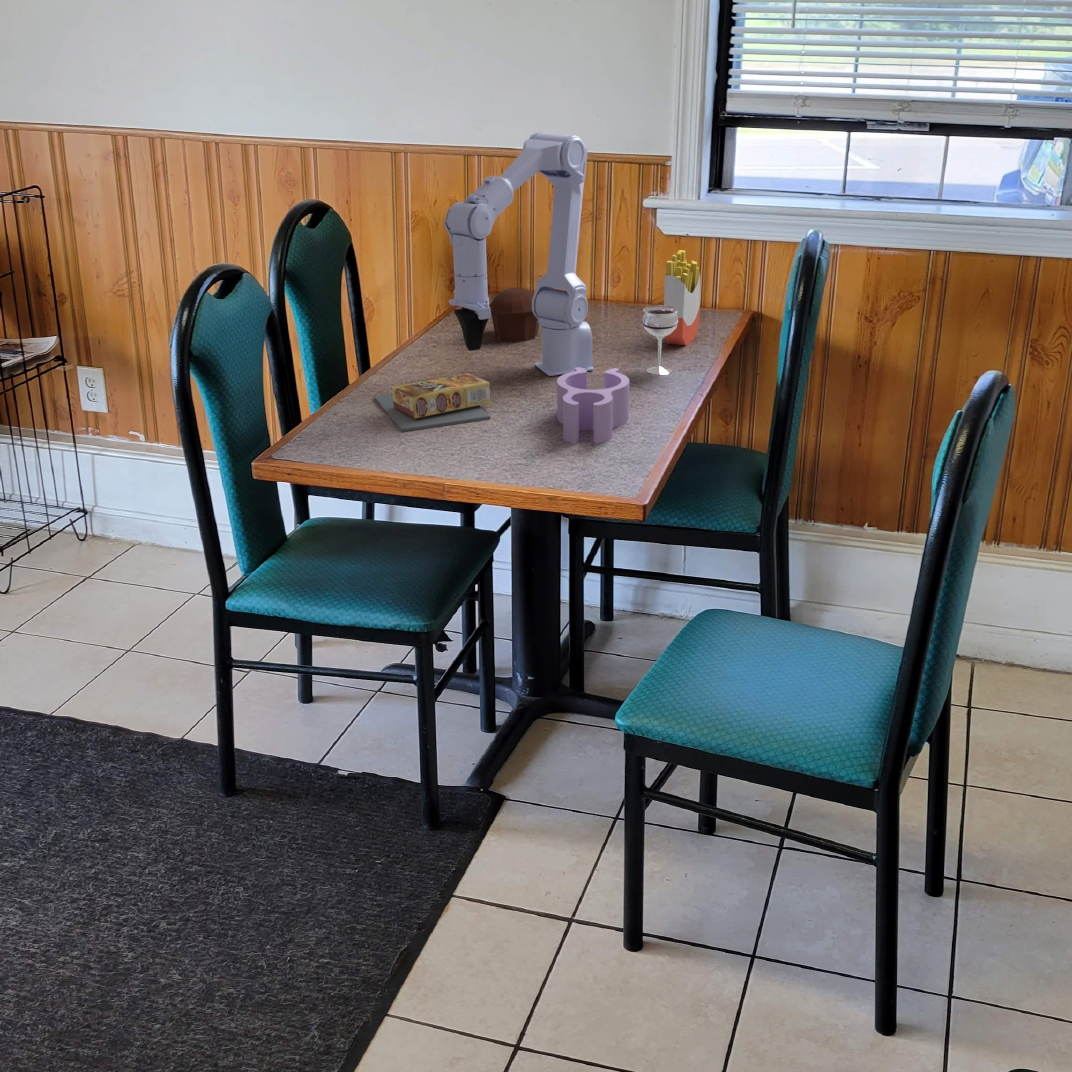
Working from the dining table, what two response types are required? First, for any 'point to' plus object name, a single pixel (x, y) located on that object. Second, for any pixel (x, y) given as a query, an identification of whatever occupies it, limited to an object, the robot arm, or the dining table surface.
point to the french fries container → (683, 297)
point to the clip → (592, 405)
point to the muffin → (514, 315)
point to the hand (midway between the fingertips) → (473, 349)
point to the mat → (441, 419)
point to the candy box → (441, 395)
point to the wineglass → (660, 329)
